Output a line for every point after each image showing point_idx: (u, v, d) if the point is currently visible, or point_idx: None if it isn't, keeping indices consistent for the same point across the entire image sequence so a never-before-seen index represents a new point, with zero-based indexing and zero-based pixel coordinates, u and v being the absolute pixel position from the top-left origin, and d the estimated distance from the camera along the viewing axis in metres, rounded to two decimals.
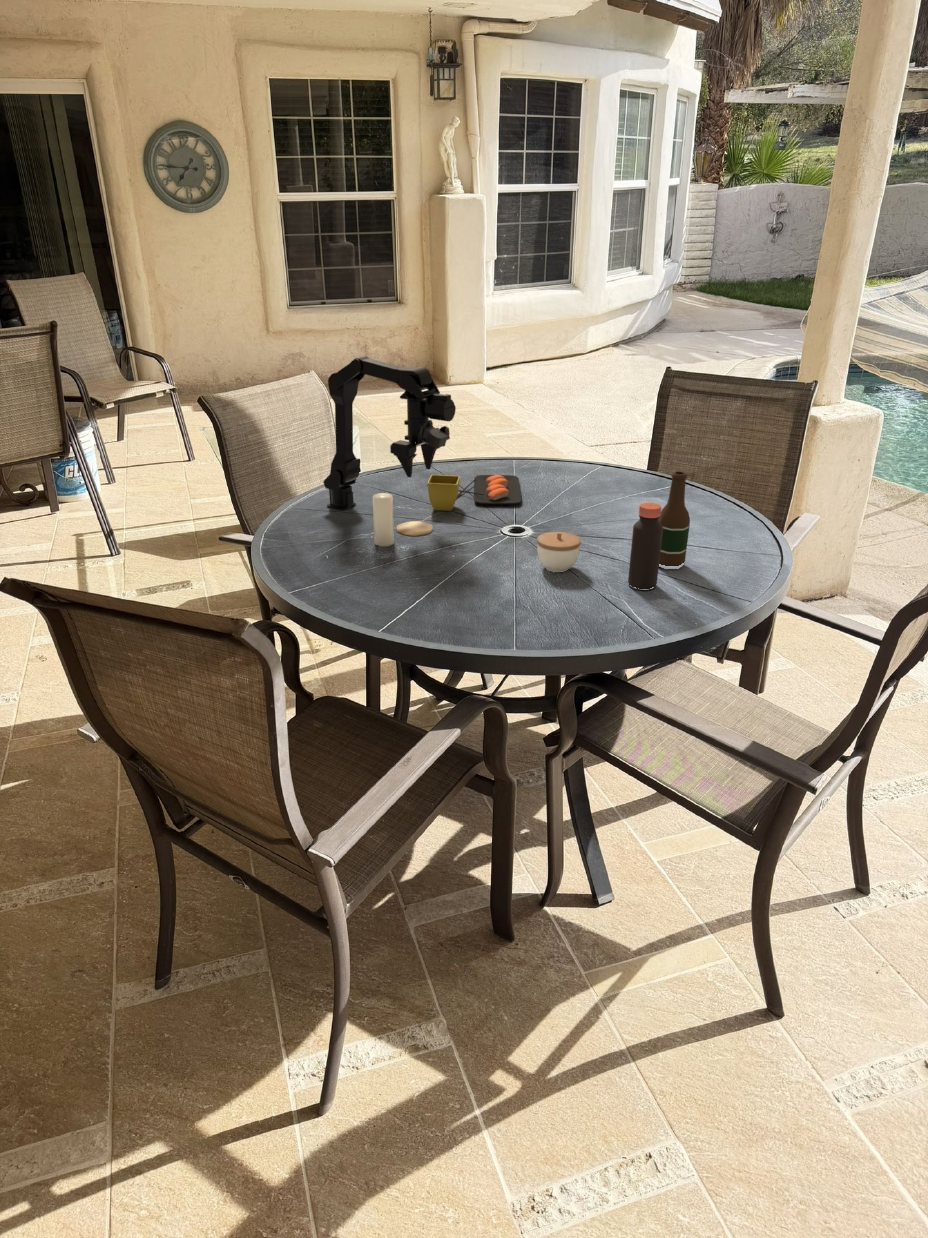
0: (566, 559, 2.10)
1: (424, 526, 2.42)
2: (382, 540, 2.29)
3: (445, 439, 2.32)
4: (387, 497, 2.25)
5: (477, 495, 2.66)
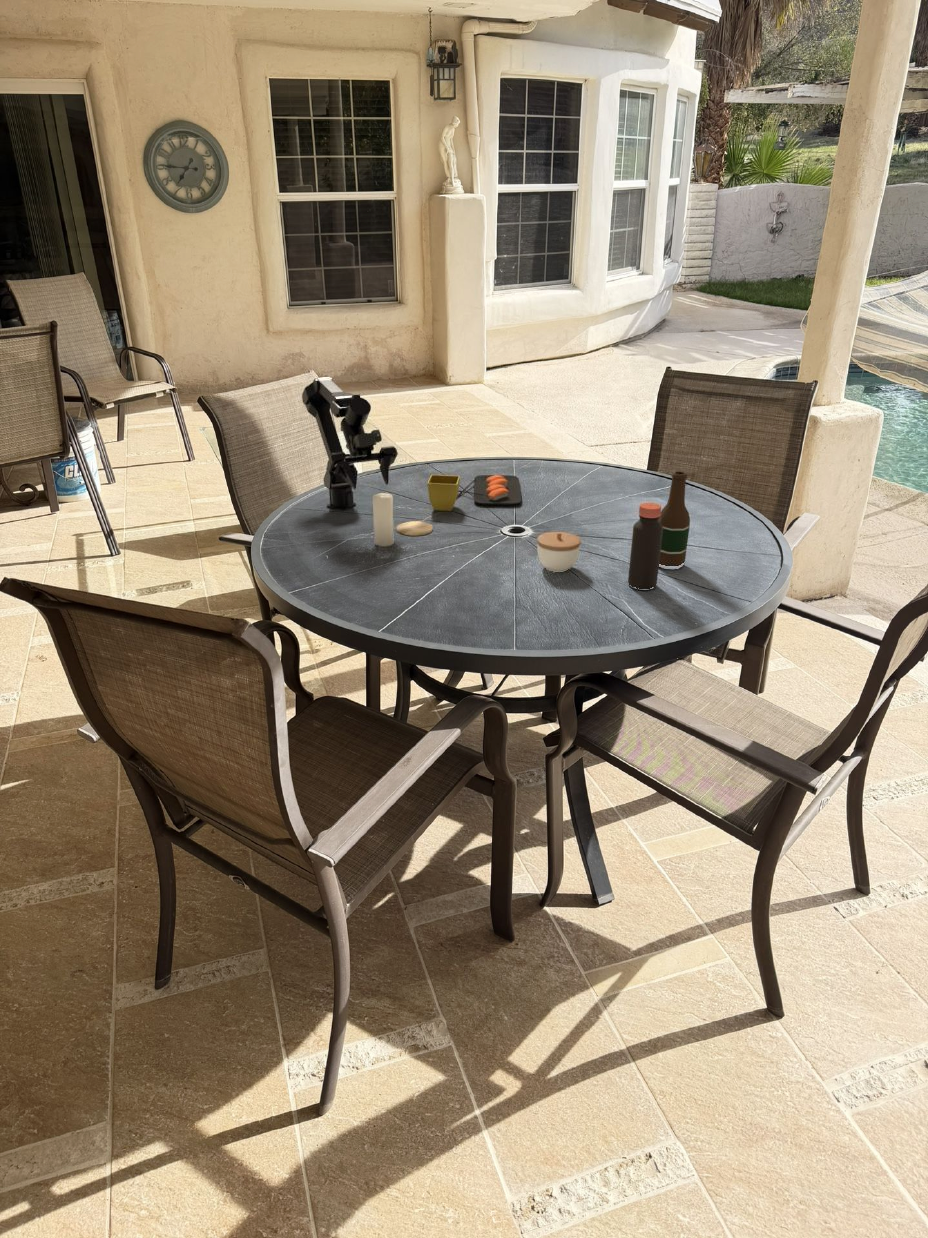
0: (566, 559, 2.10)
1: (424, 526, 2.42)
2: (382, 540, 2.29)
3: (370, 436, 2.28)
4: (387, 497, 2.25)
5: (477, 495, 2.66)
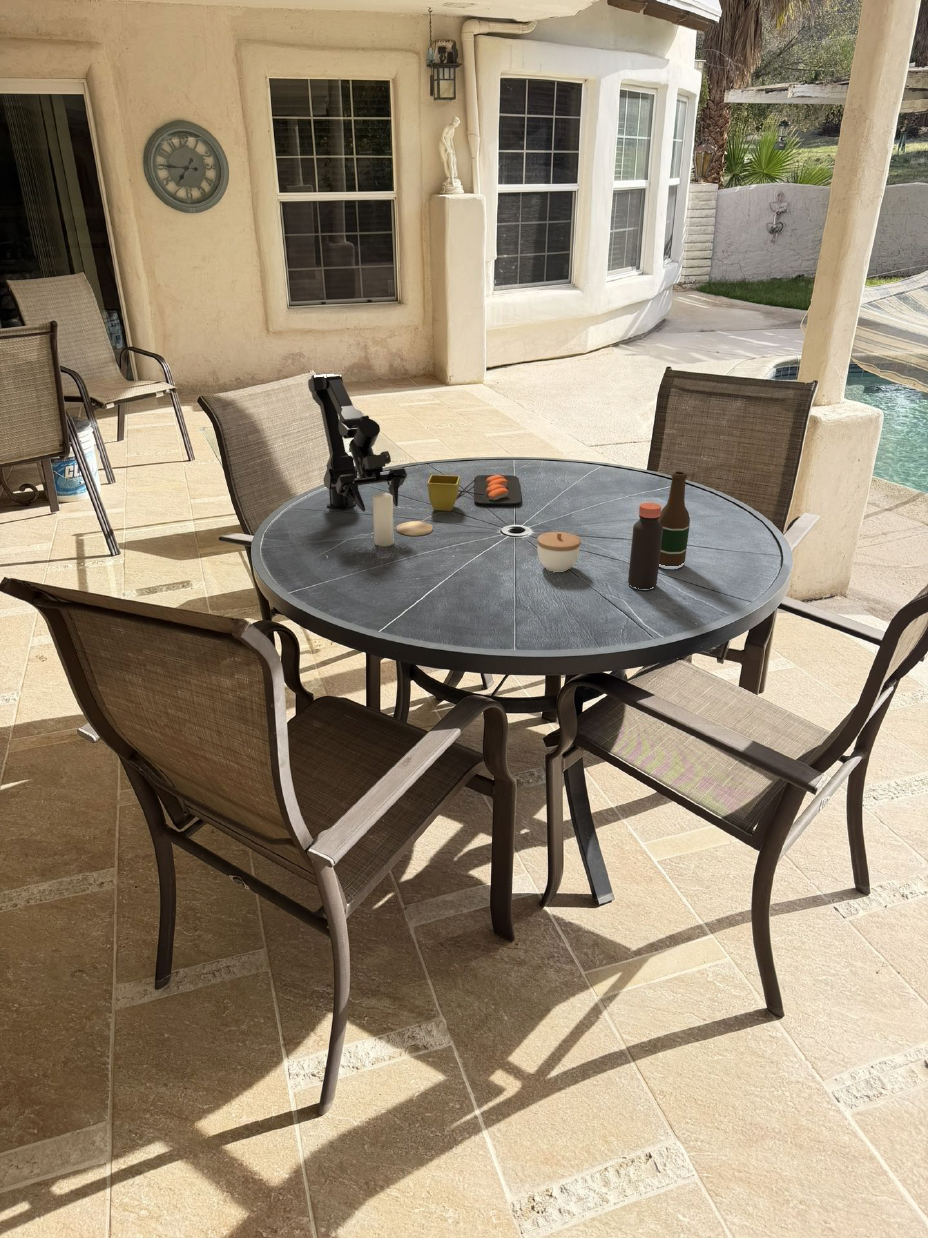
0: (566, 559, 2.10)
1: (424, 526, 2.42)
2: (382, 540, 2.29)
3: (379, 457, 2.25)
4: (387, 497, 2.25)
5: (477, 495, 2.66)
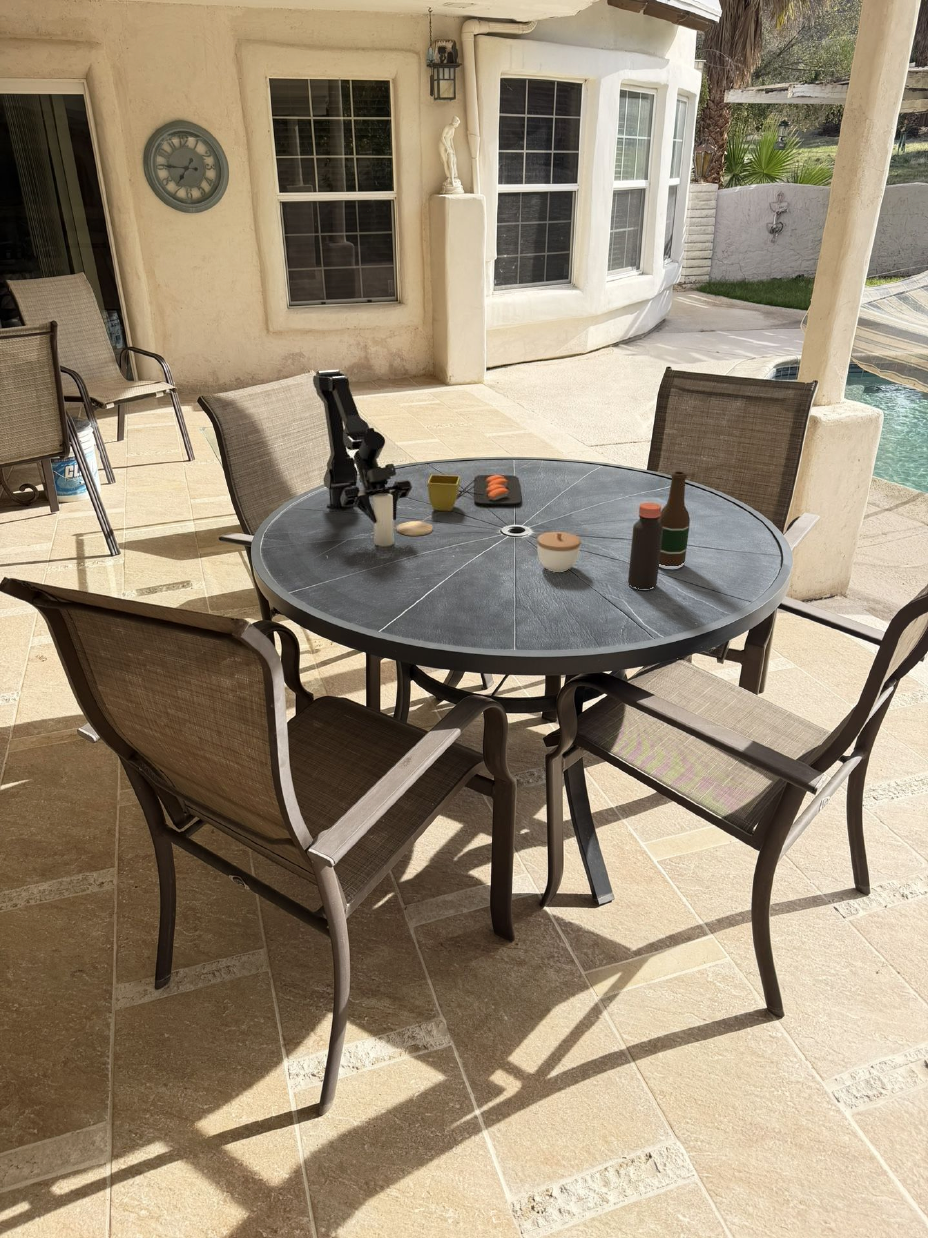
0: (566, 559, 2.10)
1: (424, 526, 2.42)
2: (382, 540, 2.29)
3: (384, 470, 2.23)
4: (387, 497, 2.25)
5: (477, 495, 2.66)
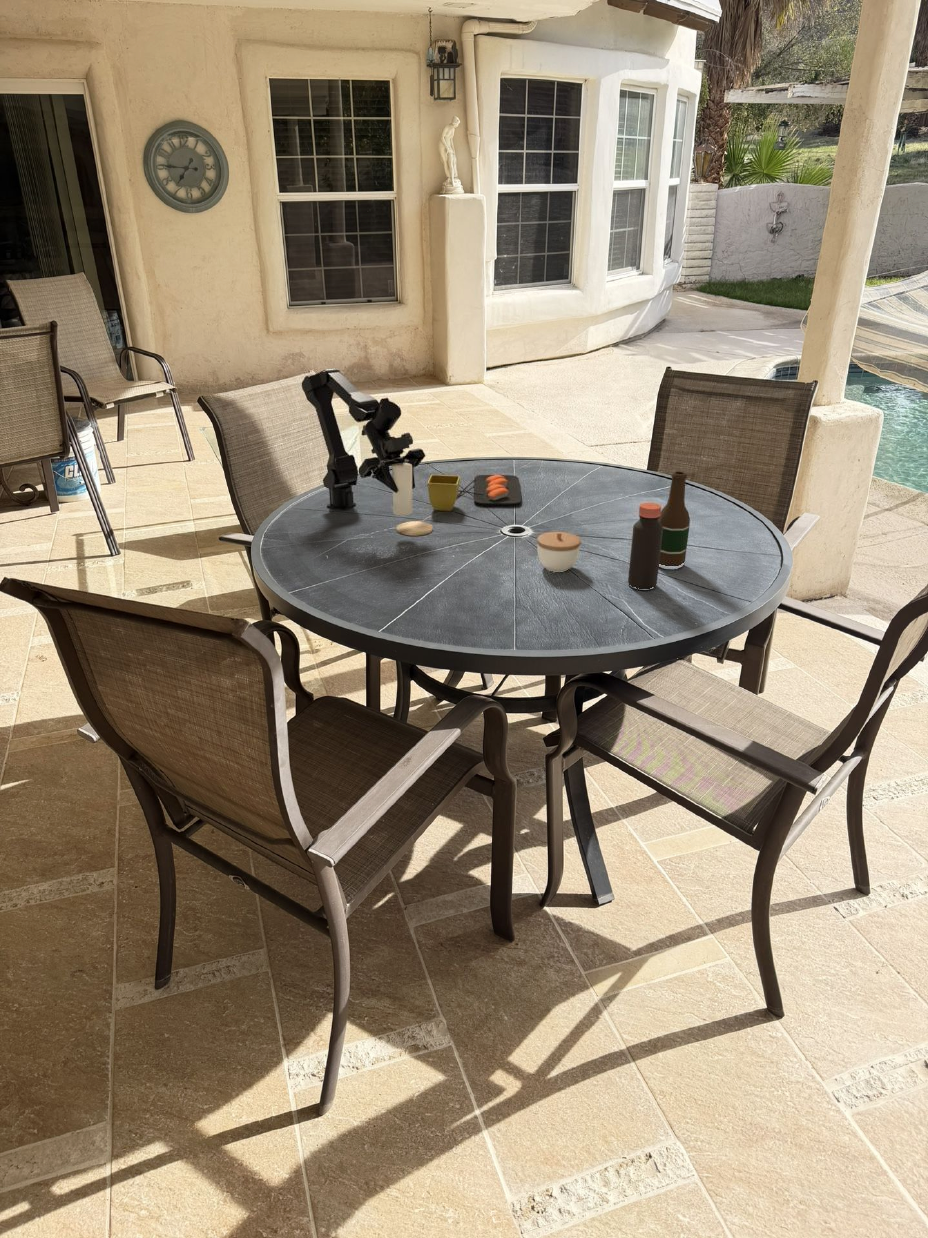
0: (566, 559, 2.10)
1: (424, 526, 2.42)
2: (403, 509, 2.31)
3: (404, 439, 2.26)
4: (407, 466, 2.28)
5: (477, 495, 2.66)
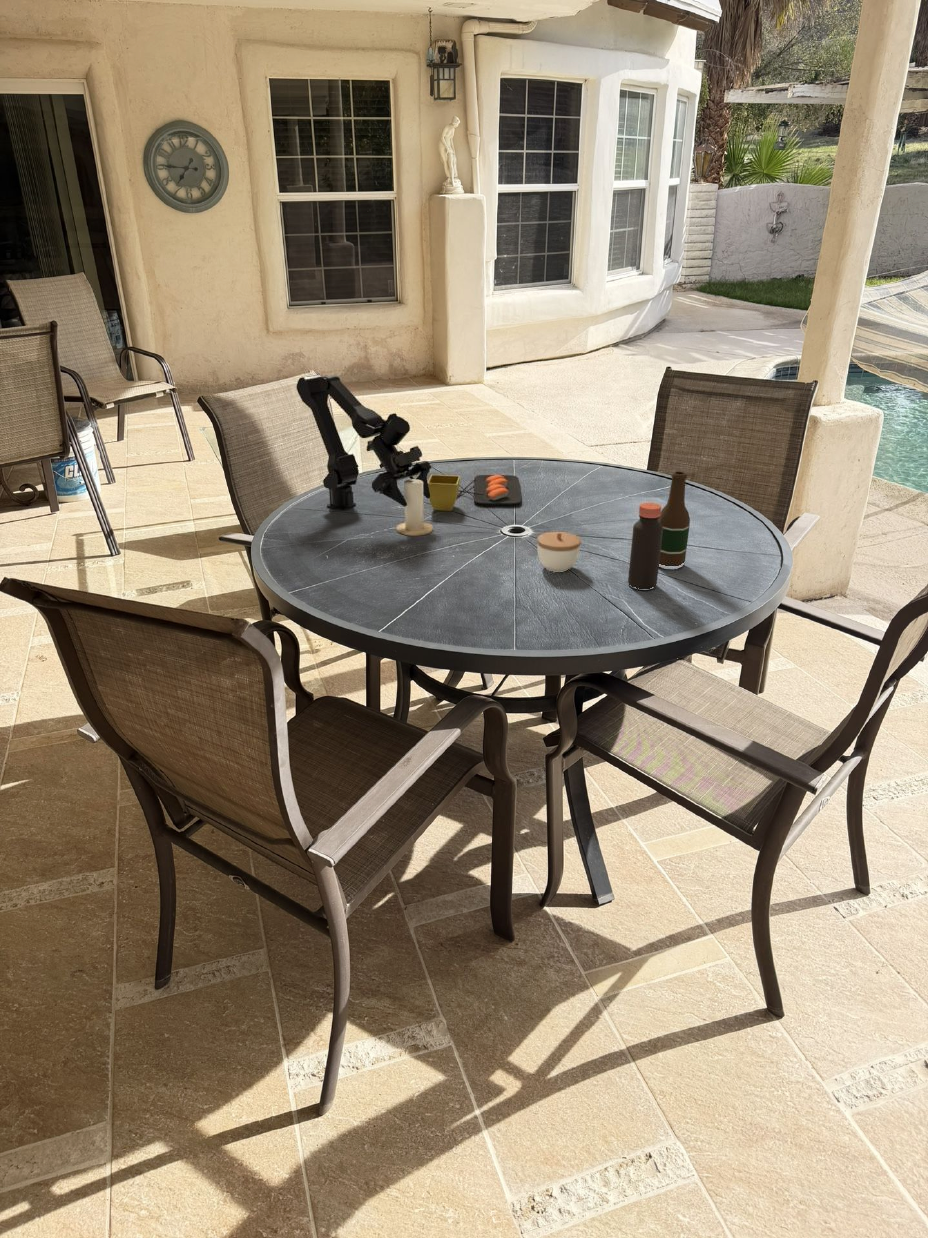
0: (566, 559, 2.10)
1: (424, 526, 2.42)
2: (416, 524, 2.38)
3: (415, 453, 2.32)
4: (419, 482, 2.35)
5: (477, 495, 2.66)
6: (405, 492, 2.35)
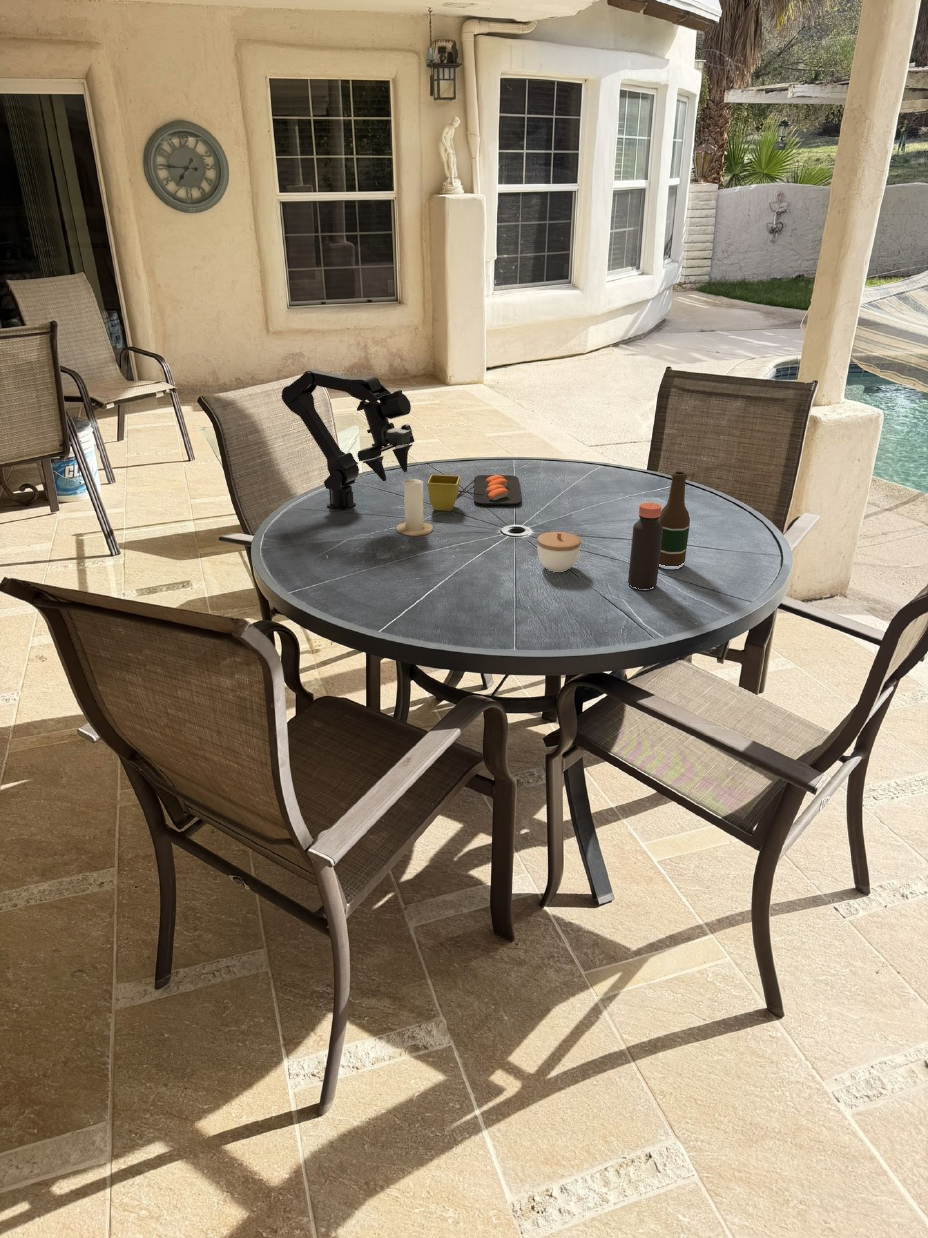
0: (566, 559, 2.10)
1: (424, 526, 2.42)
2: (416, 524, 2.38)
3: (407, 435, 2.38)
4: (419, 482, 2.35)
5: (477, 495, 2.66)
6: (405, 492, 2.35)
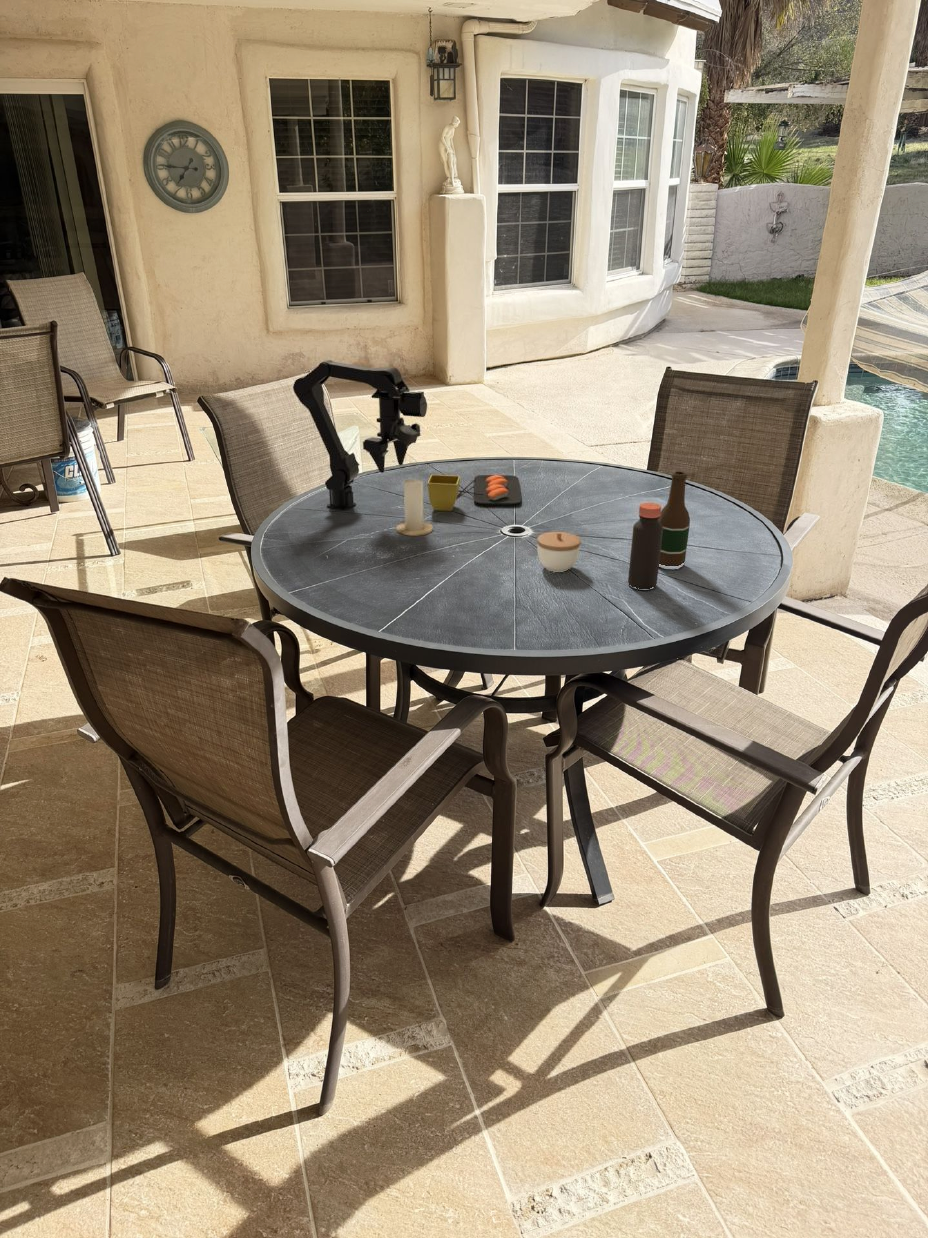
0: (566, 559, 2.10)
1: (424, 526, 2.42)
2: (416, 524, 2.38)
3: (416, 436, 2.41)
4: (419, 482, 2.35)
5: (477, 495, 2.66)
6: (405, 492, 2.35)
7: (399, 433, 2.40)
